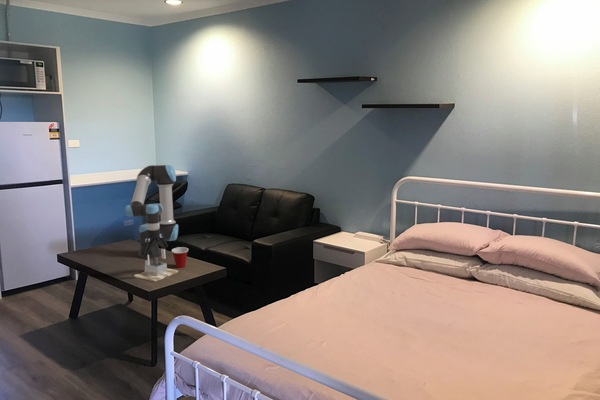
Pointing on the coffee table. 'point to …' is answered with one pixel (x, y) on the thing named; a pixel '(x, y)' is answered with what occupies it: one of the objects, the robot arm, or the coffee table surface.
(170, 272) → the keeper board
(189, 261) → the coffee table surface
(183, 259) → the plastic cup
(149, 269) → the white box
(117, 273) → the coffee table surface
